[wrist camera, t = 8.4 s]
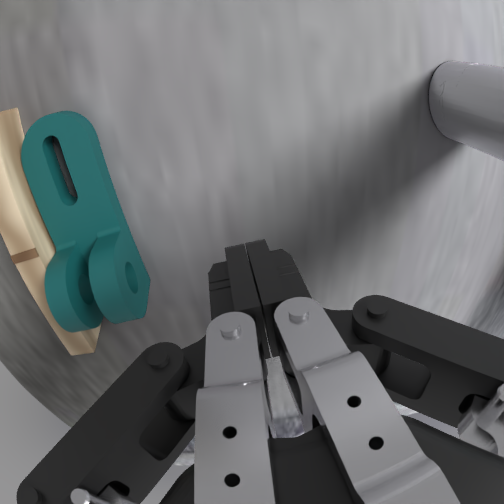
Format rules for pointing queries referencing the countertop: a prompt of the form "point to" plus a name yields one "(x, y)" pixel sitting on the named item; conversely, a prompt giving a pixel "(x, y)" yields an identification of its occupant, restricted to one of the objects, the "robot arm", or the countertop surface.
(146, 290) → the bracket
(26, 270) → the batten
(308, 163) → the countertop surface
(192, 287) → the countertop surface
